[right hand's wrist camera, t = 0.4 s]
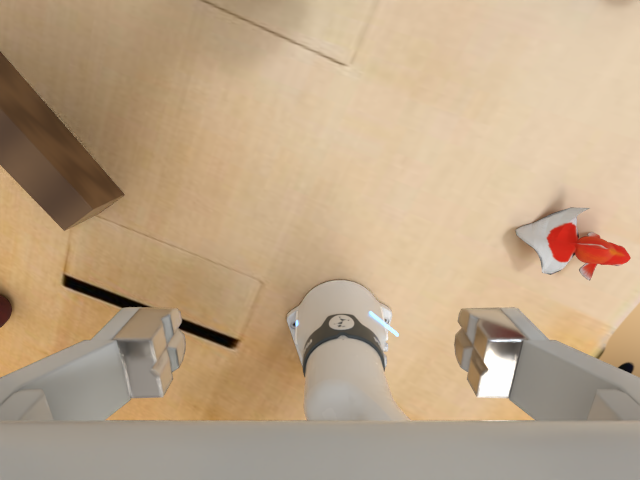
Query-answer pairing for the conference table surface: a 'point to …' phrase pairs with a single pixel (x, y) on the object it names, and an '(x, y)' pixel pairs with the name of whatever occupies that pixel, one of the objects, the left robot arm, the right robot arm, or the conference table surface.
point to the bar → (48, 156)
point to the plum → (4, 310)
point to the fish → (569, 244)
